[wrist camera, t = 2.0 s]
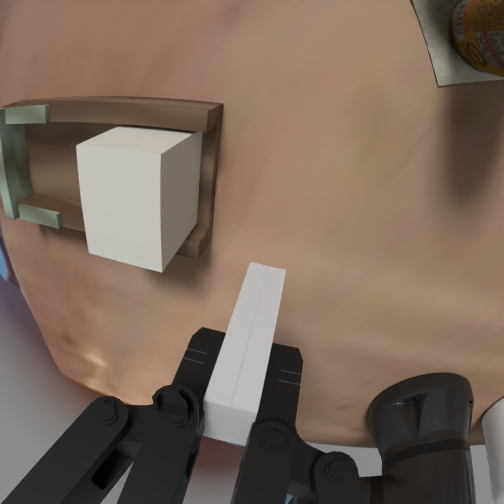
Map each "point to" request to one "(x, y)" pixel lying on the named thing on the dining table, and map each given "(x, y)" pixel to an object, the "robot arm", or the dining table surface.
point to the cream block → (139, 192)
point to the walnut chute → (80, 130)
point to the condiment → (464, 38)
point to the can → (495, 448)
